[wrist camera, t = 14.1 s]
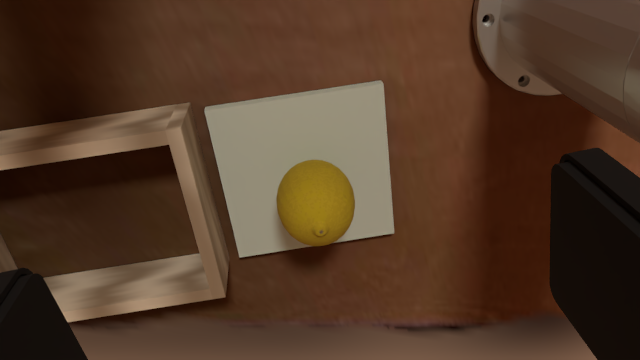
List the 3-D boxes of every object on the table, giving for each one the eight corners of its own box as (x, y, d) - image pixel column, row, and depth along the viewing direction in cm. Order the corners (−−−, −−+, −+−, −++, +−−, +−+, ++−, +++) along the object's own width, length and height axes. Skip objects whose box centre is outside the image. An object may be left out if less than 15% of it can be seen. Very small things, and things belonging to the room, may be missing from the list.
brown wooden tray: (190, 102, 39) (180, 128, 35) (229, 258, 45) (225, 297, 41) (-60, 140, 39) (-102, 170, 34) (16, 292, 45) (-11, 334, 41)
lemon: (335, 212, 43) (349, 273, 36) (268, 199, 42) (269, 259, 35) (355, 151, 41) (374, 203, 34) (284, 135, 40) (289, 186, 33)
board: (381, 80, 40) (383, 83, 39) (392, 228, 46) (394, 233, 45) (205, 106, 39) (204, 110, 38) (240, 252, 45) (239, 257, 45)
